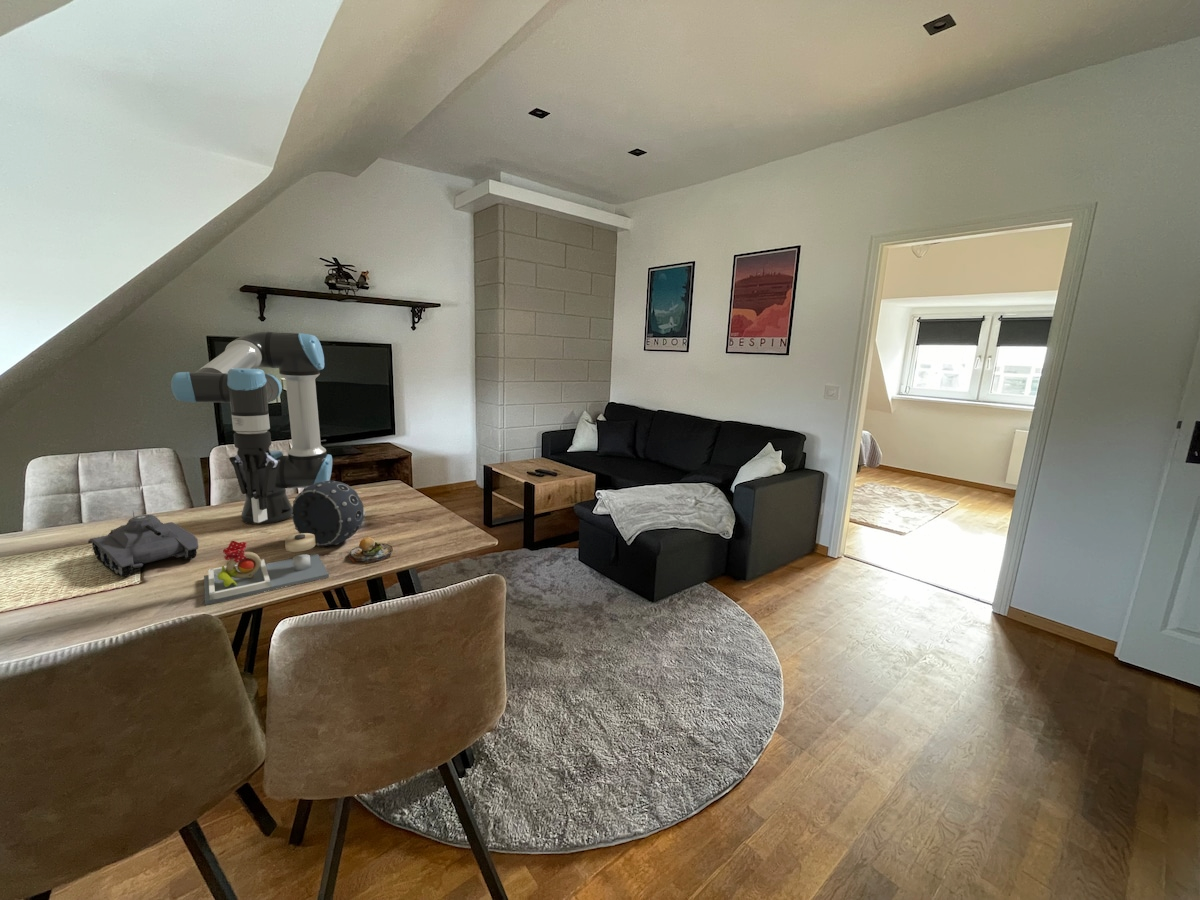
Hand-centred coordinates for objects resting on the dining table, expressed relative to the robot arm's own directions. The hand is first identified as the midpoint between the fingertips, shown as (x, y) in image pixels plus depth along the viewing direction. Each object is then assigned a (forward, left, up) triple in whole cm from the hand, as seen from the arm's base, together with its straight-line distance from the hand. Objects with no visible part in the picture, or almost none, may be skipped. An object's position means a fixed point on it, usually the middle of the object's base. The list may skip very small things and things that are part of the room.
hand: (260, 520), depth 124 cm
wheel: (0, +8, -9) cm, 12 cm away
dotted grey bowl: (-17, +18, -17) cm, 30 cm away
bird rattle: (0, -6, -16) cm, 16 cm away
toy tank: (-31, -25, -17) cm, 43 cm away
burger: (-1, +26, -17) cm, 31 cm away
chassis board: (0, 0, -16) cm, 16 cm away
